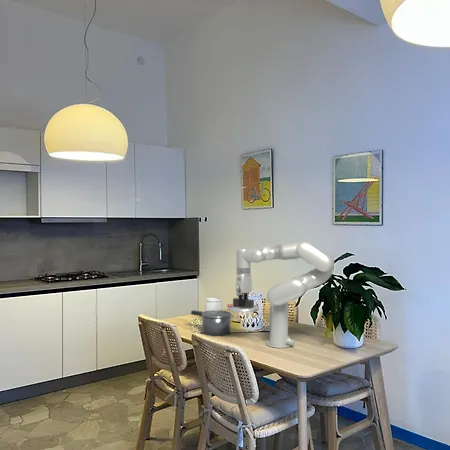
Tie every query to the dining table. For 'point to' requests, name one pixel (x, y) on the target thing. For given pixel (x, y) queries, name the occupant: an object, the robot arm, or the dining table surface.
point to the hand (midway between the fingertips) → (243, 305)
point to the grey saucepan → (214, 322)
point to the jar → (213, 304)
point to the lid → (247, 308)
